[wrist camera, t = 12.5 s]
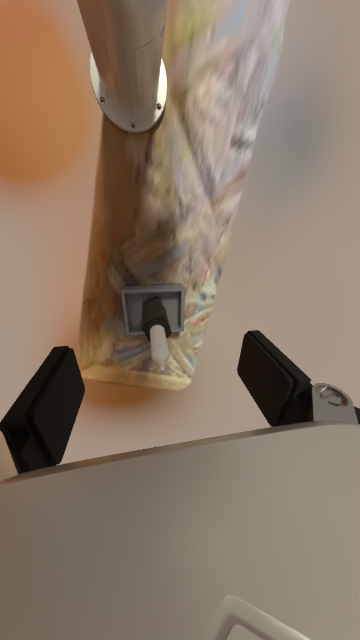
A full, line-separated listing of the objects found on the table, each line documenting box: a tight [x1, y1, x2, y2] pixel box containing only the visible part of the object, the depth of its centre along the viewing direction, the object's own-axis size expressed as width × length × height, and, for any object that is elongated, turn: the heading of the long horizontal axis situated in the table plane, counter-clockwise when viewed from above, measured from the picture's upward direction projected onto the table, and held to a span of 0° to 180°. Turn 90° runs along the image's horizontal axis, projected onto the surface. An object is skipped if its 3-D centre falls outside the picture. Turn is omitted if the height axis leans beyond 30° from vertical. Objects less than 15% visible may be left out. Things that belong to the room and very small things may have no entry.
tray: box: [120, 284, 185, 336], centre depth 49 cm, size 12×15×4 cm
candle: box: [142, 296, 171, 371], centre depth 38 cm, size 5×5×25 cm
